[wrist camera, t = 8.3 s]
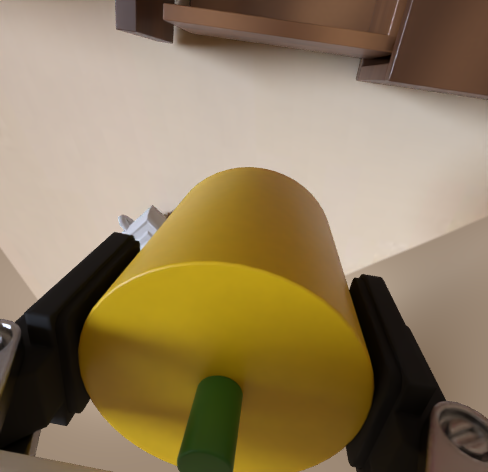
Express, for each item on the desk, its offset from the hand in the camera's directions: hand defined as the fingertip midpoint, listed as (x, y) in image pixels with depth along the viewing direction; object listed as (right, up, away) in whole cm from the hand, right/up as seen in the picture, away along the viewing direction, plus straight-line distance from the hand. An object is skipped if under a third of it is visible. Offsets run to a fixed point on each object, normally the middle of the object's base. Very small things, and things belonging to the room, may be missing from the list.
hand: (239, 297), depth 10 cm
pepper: (0, +2, +3) cm, 4 cm away
